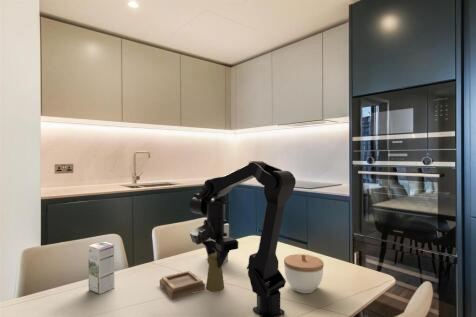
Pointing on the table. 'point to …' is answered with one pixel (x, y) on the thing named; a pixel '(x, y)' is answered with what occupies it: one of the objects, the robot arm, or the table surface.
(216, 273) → the olive pear-shaped figure
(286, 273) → the lidded bowl
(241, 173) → the robot arm
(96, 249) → the syrup box
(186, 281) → the square wooden tray
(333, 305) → the table surface
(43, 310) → the table surface
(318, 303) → the table surface
